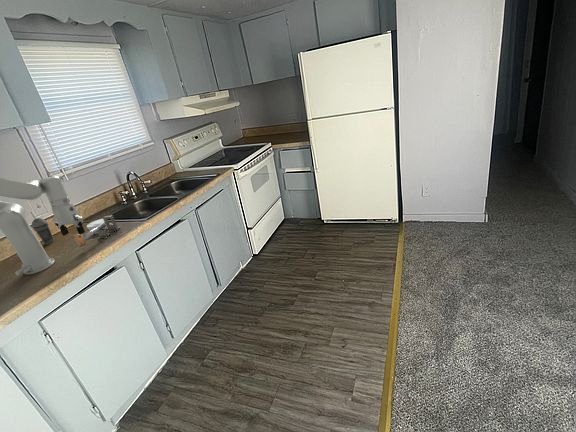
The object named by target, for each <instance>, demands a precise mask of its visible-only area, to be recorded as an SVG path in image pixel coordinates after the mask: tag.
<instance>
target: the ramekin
mask: <svg viewBox="0 0 576 432" xmlns="http://www.w3.org/2000/svg"><path fill="white" fill-rule="evenodd" d="M102 223H105V222H104V219H103V218H99V219H96V220H93V221H91V222H89V223H88V224H87V225H86V228H87V229H88V230H89V231H91V230H93V229H94V228H96V227H97V226H99V225H100V224H102ZM103 229H107V230H108V228H107V226H105V227H104V228H103ZM95 234H96V235H97V234H98V232H96V233H95ZM95 234H94V235H95Z"/></svg>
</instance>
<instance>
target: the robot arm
mask: <svg viewBox="0 0 576 432" xmlns="http://www.w3.org/2000/svg"><path fill="white" fill-rule="evenodd" d="M42 194H45V195H46V197H47V199H48V201H49V203H50V206H51V210H52V214H53V216H54V218H53V219H52V222H53V223H54V224H55V226H56V227H57V228H58V229H59V230H60V233H61V235H62V236H66V235H68V234H69V233H70V232H69V229H68V228H67V226H66V225H73V226H75V227H76V231H77V232H78V233H77V234H79V235H81V234H82V235H84V234H86V233H85V232H86V231H85V229H84V226H83V225H84V217H83V216H80V214H79V212H78V210H77V208H76V207H75V205H74V204H73V203H72V202H71V201H70V199H69V197H68V194H67V192H66V189H65V187H64V185H63V183H62V180H61V178H60V177H59V176H58V175H55V176H47V177H44V178H40V179H32V180H31V179H30V180H27V181H25V182H22V181H16V180H11V179H6V178H3V177H1V176H0V196H1V197H5V198H11V199H18V200H26V201H27V200H28V201H32V200H33V201H35V200H38V199H39V198H40V197H42ZM26 217H27V211H26V209H25V208H24V206H22V205H21V204H19V203H15V202H8V201H4V200H3V201H2V200H0V231H1V232H2V233H3V234H4V237H5V238H6V239H7V241H8V242H9V244H10V245H11V246H12V248H13V250H14V251H15V252H16V254H17V256H18V258H19V259H20V261H21V263H22V265H21V268H20V269H17V271H15V275H16V276H20V275H21V274H24V275H27V276H28V275H33V274H37V273H39V272H42V271H44V270H47V269H48V268H50V267H51V266H53V265H54V264H55V262H56V260H55V259H54V258H53V257H49V255H48V254H47V252H46V250H45V249H44V247H43V244H41V241H40V240H39V238H38V237H37V234H36V232H35V230H34V229H33V228H32V226H31V225H30V224H29V222H28V220H26Z"/></svg>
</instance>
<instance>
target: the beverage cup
mask: <svg viewBox="0 0 576 432" xmlns="http://www.w3.org/2000/svg"><path fill="white" fill-rule="evenodd" d="M30 214H31V216H32V217H33V218H34V219H33V220H32V222H31V228H32V230H33V231H34V232H35V233H36V235H38V236H39V238H40V239H41V241H42V242H43V243H44V245H50V244H53V243H54V242H55V239H54V236H53V233H52V231H51V229H50V226H49V223H48V222H47V220H45V219H44V218H41V217H39V218H37V217H36V216H35V215H34V213H33V212H32V211H30Z"/></svg>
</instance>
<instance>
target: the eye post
mask: <svg viewBox="0 0 576 432" xmlns="http://www.w3.org/2000/svg"><path fill="white" fill-rule="evenodd" d="M102 219H104V222H105V224H106V226H107V228H108V229H107V230H106V231H107V232H109V233H115V232H117V231H119V230H120V229H121V226H118V224H117V221H116V220H115V217H114V215H113V214H112V215H111V214H110V215H103V216H102ZM109 219H110V221H111V222H109ZM119 228H120V229H119ZM118 229H119V230H118ZM116 230H117V231H116ZM114 231H115V232H114Z"/></svg>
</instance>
